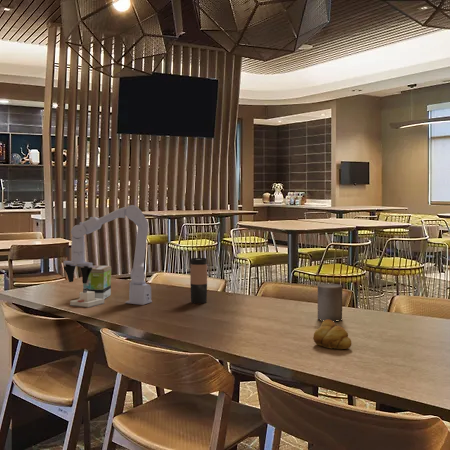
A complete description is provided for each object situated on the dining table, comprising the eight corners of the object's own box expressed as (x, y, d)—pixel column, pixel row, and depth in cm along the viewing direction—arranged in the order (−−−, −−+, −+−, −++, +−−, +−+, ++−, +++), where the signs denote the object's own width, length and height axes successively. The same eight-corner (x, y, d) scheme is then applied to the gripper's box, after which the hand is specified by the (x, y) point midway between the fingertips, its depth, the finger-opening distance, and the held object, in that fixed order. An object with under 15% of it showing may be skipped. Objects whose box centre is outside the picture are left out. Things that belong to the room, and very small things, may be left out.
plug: (94, 303, 251) (94, 289, 251) (87, 305, 246) (87, 291, 246) (86, 302, 253) (86, 289, 252) (79, 304, 248) (79, 290, 248)
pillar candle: (343, 318, 226) (343, 280, 225) (341, 323, 217) (341, 284, 216) (318, 316, 229) (318, 280, 228) (315, 321, 219) (316, 283, 219)
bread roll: (357, 349, 179) (358, 324, 179) (336, 353, 174) (337, 328, 173) (328, 340, 190) (328, 317, 190) (307, 344, 184) (307, 320, 184)
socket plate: (104, 303, 252) (104, 297, 252) (88, 307, 242) (88, 301, 242) (86, 301, 257) (86, 295, 257) (69, 305, 247) (69, 299, 247)
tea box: (104, 300, 259) (104, 268, 259) (82, 300, 260) (82, 268, 259) (111, 295, 274) (111, 264, 274) (90, 295, 275) (90, 264, 274)
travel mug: (208, 300, 261) (207, 257, 260) (206, 303, 253) (206, 259, 253) (191, 300, 262) (191, 257, 261) (189, 303, 254) (189, 259, 253)
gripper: (59, 251, 249) (58, 282, 249) (85, 253, 243) (85, 285, 243) (69, 250, 255) (69, 280, 256) (95, 252, 249) (95, 283, 250)
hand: (77, 282), depth 250 cm, fingers open, 7 cm apart
